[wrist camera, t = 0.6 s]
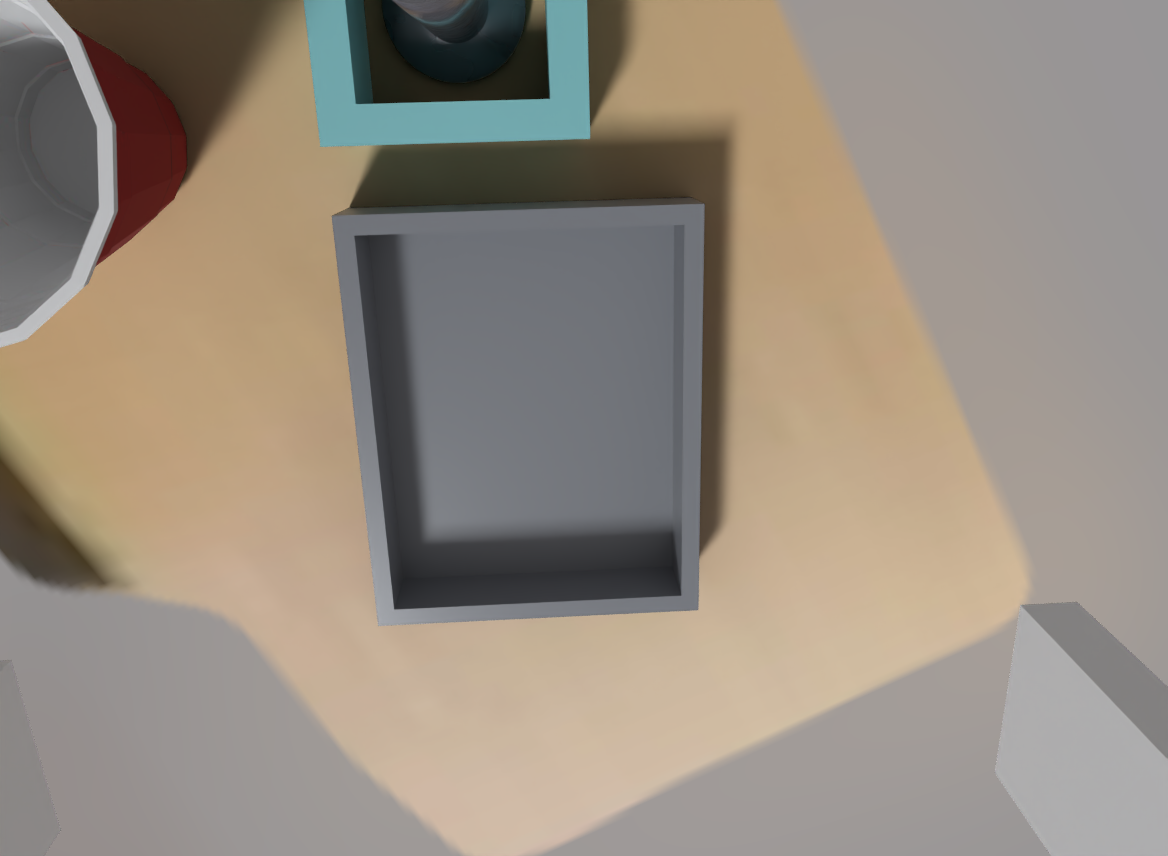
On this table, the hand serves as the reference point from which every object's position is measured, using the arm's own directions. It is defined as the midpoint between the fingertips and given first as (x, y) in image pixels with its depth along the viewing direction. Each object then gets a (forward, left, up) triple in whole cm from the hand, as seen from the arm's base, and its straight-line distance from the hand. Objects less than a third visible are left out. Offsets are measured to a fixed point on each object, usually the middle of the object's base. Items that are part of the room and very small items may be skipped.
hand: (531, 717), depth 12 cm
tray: (+3, 0, -25) cm, 26 cm away
